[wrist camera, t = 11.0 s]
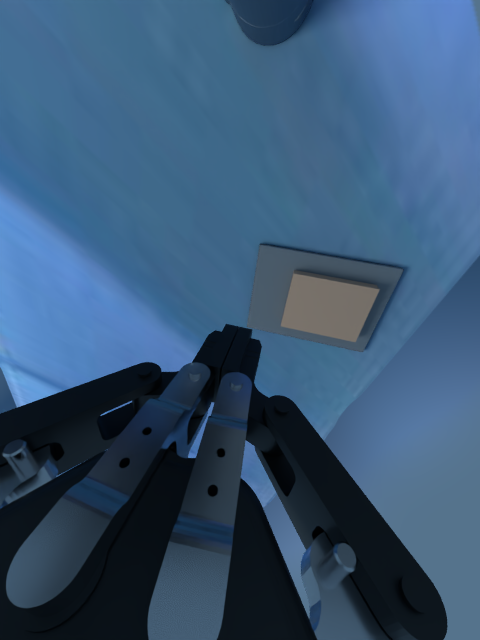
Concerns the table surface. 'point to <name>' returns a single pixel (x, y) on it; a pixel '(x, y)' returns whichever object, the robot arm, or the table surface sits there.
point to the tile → (328, 305)
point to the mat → (282, 262)
